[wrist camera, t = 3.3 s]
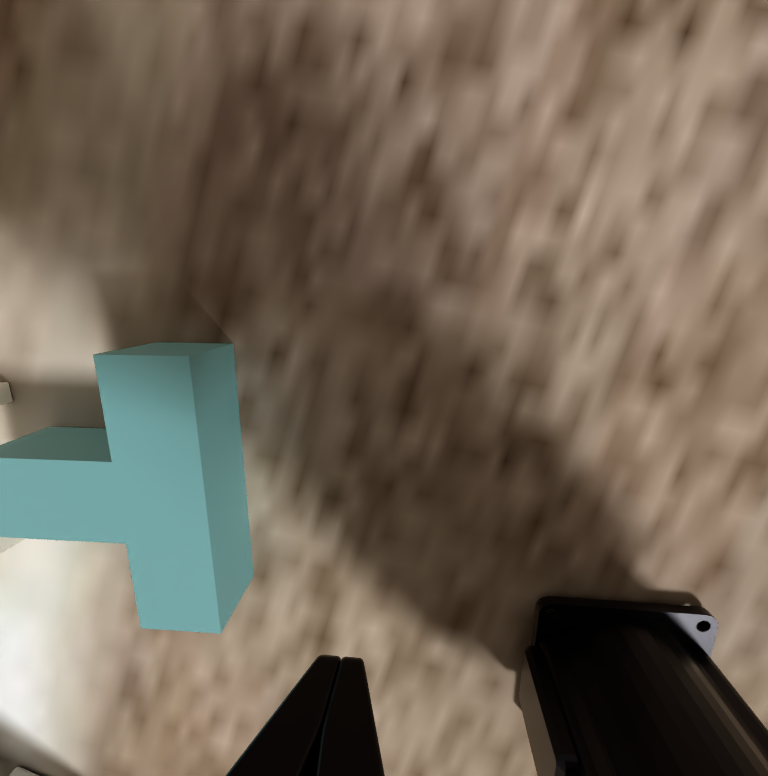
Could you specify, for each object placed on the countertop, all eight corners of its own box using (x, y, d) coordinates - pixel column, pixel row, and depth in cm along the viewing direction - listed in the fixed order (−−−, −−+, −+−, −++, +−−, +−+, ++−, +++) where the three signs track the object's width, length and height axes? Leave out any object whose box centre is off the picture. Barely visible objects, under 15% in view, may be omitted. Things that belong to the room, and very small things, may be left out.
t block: (234, 343, 14) (189, 356, 12) (254, 574, 17) (220, 633, 14) (32, 340, 15) (-60, 351, 12) (79, 564, 17) (12, 619, 14)
